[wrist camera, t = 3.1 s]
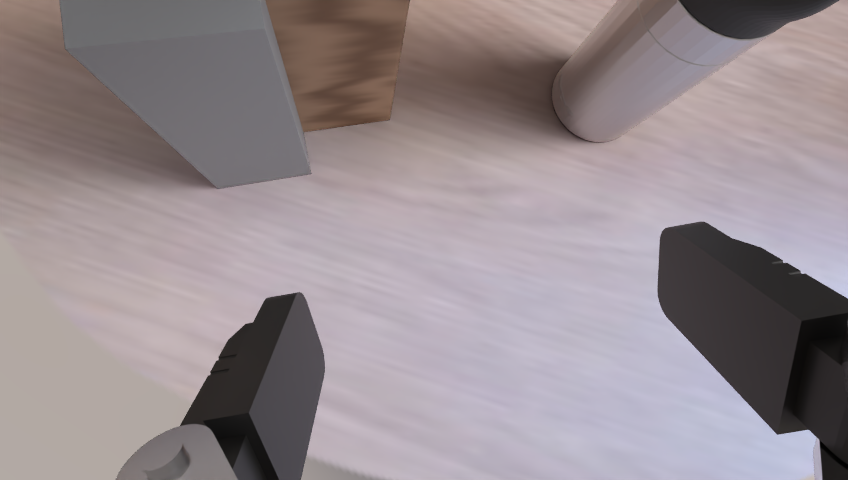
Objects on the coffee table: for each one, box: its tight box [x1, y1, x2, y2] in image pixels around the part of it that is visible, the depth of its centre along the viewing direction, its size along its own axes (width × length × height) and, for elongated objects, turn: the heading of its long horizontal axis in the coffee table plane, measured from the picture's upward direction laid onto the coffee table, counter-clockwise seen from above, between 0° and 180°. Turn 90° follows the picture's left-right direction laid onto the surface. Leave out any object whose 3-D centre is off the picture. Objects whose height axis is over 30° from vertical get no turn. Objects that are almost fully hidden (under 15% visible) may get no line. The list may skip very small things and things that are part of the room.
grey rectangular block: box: [59, 0, 311, 189], centre depth 30 cm, size 8×10×21 cm
